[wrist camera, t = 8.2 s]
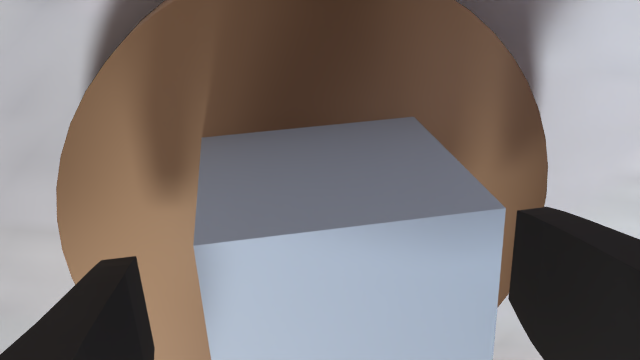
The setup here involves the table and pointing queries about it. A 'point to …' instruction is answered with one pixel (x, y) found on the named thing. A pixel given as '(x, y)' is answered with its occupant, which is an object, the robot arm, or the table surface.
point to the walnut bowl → (276, 122)
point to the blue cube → (345, 246)
